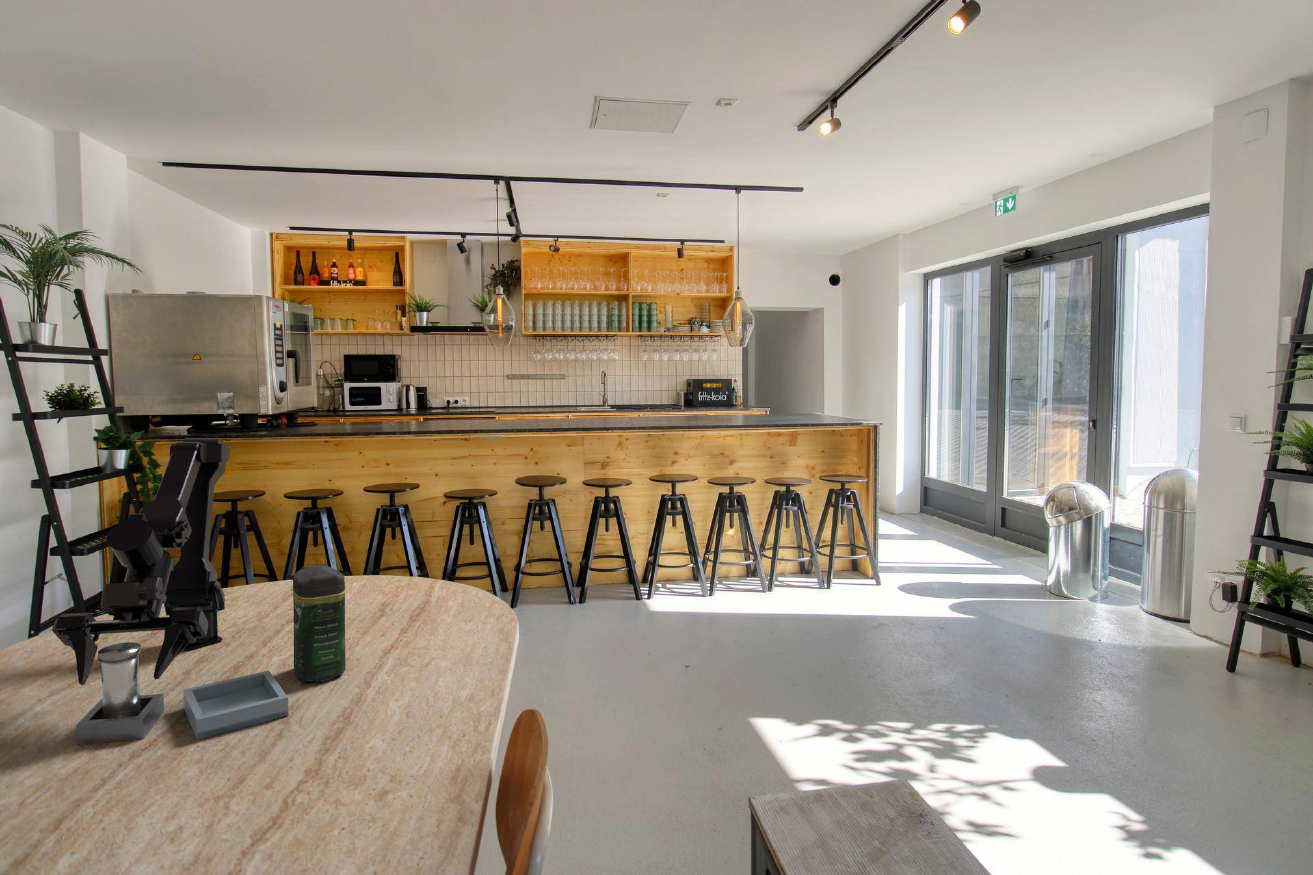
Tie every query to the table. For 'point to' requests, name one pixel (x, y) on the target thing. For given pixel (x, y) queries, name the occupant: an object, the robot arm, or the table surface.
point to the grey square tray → (120, 722)
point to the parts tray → (234, 704)
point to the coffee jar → (319, 623)
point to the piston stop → (120, 680)
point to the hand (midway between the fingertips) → (119, 681)
